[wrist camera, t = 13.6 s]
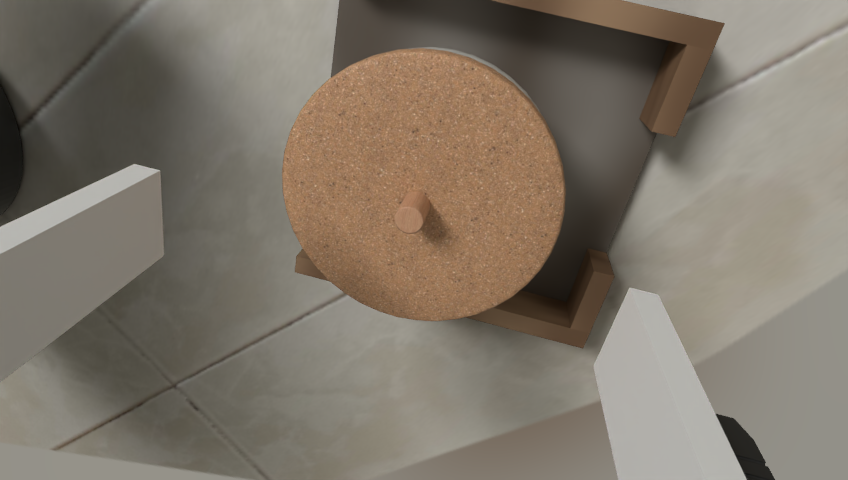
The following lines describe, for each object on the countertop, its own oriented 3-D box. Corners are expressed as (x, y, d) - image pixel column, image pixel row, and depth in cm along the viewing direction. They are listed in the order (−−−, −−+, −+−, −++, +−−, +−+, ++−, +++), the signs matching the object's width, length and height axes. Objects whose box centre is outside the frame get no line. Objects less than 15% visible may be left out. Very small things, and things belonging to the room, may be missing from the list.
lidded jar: (581, 58, 23) (617, 95, 15) (522, 261, 28) (523, 375, 20) (353, 13, 24) (264, 24, 16) (333, 218, 29) (258, 311, 20)
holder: (315, 246, 30) (294, 272, 28) (350, -59, 23) (327, -66, 20) (576, 315, 30) (583, 348, 27) (699, 19, 22) (724, 23, 20)
